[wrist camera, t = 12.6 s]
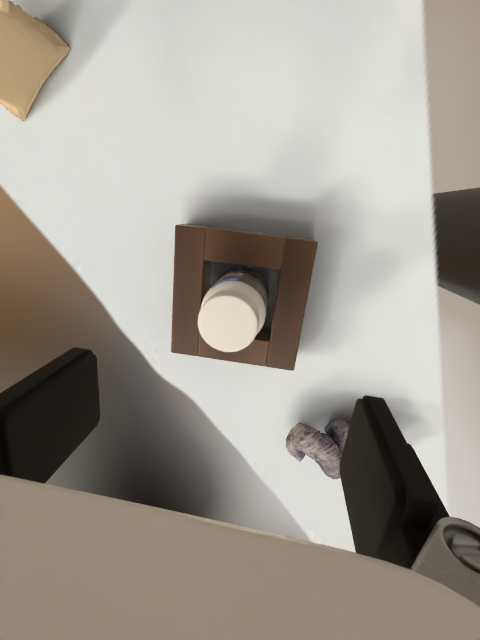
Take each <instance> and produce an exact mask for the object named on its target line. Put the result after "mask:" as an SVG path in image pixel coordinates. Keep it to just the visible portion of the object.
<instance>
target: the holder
mask: <svg viewBox="0 0 480 640" xmlns="http://www.w3.org/2000/svg"><path fill="white" fill-rule="evenodd" d="M316 249H317V241H315V240H314V239H311V238H303V237H294V236H284V235H278V234H269V233H261V232H252V231H244V230H235V229H227V228H218V227H209V226H201V225H193V224H181V225H176V226H175V255H174V284H173V313H172V343H171V352H173V353H180V354H186V355H193V356H200V357H206V358H213V359H220V360H226V361H233V362H239V363H246V364H253V365H259V366H267V367H272V368H279V369H286V370H292V371H293V370H294V367H295V361H296V356H297V351H298V345H299V340H300V334H301V329H302V324H303V318H304V313H305V308H306V302H307V297H308V291H309V286H310V281H311V275H312V270H313V265H314V259H315V254H316ZM211 261H214V262H222V263H230V264H238V265H246V266H254V267H262V268H270V269H278V270H279V276H278V283H277V289H276V296H275V303H274V309H273V316H272V323H271V329H266V328H261V330H260V332H259V333H258V334H257V335H256V337H255V338H254V340H253V341H252V342H251V343H250V345H248V346H247V347H246V348H244V349H242V350H239V351H236V352H224V351H220V350H217V349H215V348H213V347H211V346H210V345H209V344H208V343H207V342H206V341H205V340H204V339H203V337H202V336H201V334H200V332H199V328H198V315H199V312H200V310H201V305H202V301H203V299H204V297H205V295H206V293H207V292H208V291H209V283H210V269H211Z"/></svg>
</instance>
